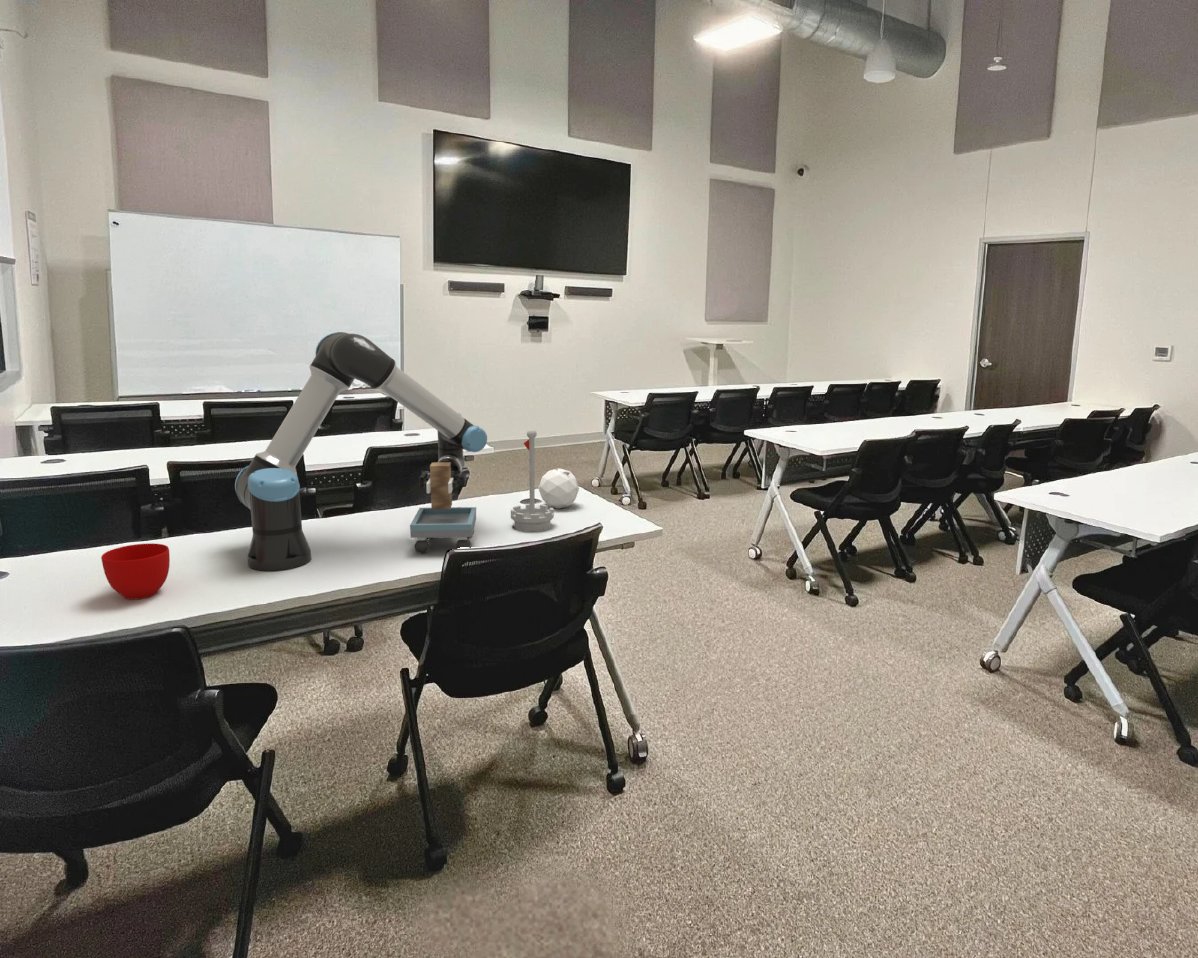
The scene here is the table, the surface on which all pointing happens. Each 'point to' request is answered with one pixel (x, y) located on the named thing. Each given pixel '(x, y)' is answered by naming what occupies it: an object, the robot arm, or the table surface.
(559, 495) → the geodesic sphere
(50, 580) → the table surface
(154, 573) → the red bowl
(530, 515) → the flag stand
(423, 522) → the wheeled cart
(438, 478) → the walnut block
